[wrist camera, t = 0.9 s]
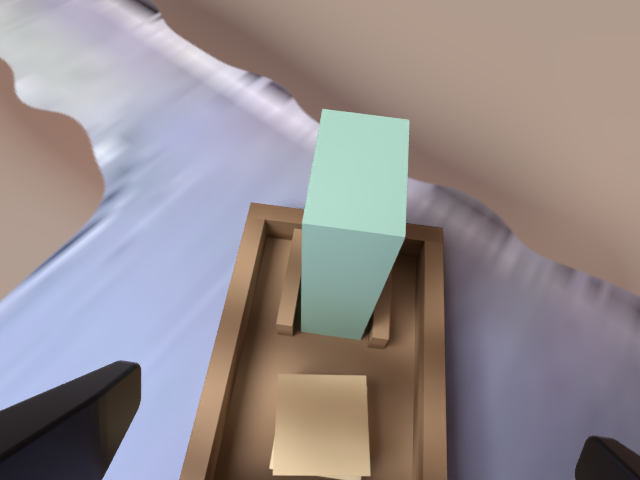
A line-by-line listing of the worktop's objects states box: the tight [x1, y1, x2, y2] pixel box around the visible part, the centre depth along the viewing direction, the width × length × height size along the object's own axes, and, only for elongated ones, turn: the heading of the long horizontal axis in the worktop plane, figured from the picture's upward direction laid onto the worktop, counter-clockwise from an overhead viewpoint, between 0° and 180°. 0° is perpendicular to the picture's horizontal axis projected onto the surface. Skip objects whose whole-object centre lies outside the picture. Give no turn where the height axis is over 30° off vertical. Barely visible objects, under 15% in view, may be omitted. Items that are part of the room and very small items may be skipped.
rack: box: [179, 203, 447, 480], centre depth 22 cm, size 15×11×3 cm
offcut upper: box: [273, 374, 371, 476], centre depth 19 cm, size 4×4×1 cm
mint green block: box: [301, 109, 409, 340], centre depth 19 cm, size 5×3×11 cm, turn 173°
